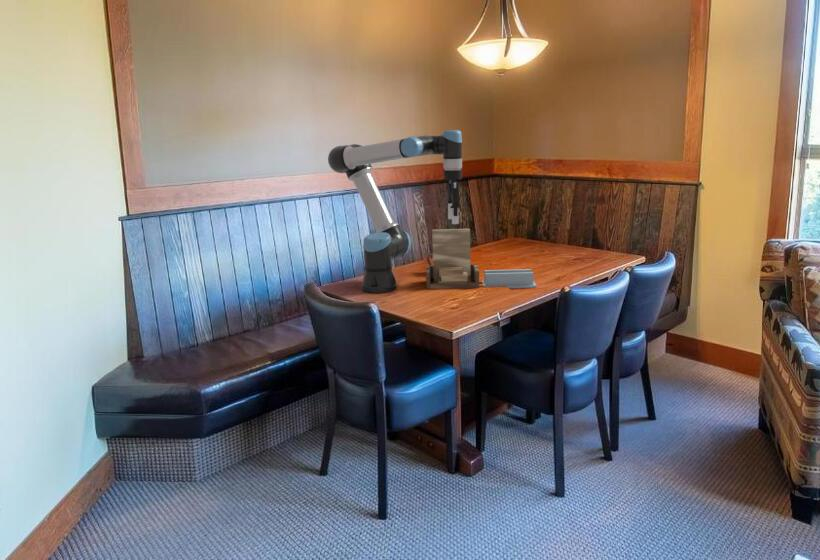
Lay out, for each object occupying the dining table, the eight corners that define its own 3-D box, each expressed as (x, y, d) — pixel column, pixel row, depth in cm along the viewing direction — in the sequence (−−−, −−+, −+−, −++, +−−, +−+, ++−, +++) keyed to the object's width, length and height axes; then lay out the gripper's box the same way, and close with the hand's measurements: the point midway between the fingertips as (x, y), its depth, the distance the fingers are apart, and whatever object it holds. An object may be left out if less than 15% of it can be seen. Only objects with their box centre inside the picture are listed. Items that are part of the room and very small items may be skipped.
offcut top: (438, 273, 262) (438, 267, 261) (462, 272, 262) (462, 266, 261) (439, 275, 257) (439, 270, 256) (463, 275, 257) (463, 269, 256)
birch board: (433, 281, 268) (432, 229, 262) (470, 280, 267) (469, 228, 261) (433, 282, 266) (432, 230, 260) (470, 281, 265) (470, 229, 260)
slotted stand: (481, 282, 267) (481, 269, 265) (532, 281, 266) (532, 268, 264) (483, 288, 257) (483, 275, 256) (536, 287, 256) (536, 273, 255)
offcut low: (438, 284, 263) (438, 278, 263) (466, 283, 263) (466, 278, 262) (438, 287, 258) (438, 281, 258) (466, 286, 258) (466, 280, 257)
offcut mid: (441, 278, 262) (441, 272, 262) (466, 277, 262) (466, 272, 261) (441, 281, 258) (441, 275, 257) (467, 280, 257) (467, 275, 257)
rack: (426, 282, 270) (426, 265, 268) (477, 281, 269) (476, 263, 267) (426, 291, 257) (426, 272, 255) (479, 290, 256) (479, 271, 254)
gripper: (440, 167, 260) (441, 217, 266) (446, 172, 236) (447, 226, 241) (458, 166, 261) (458, 216, 266) (466, 171, 236) (466, 225, 242)
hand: (453, 221), depth 254 cm, fingers open, 13 cm apart
